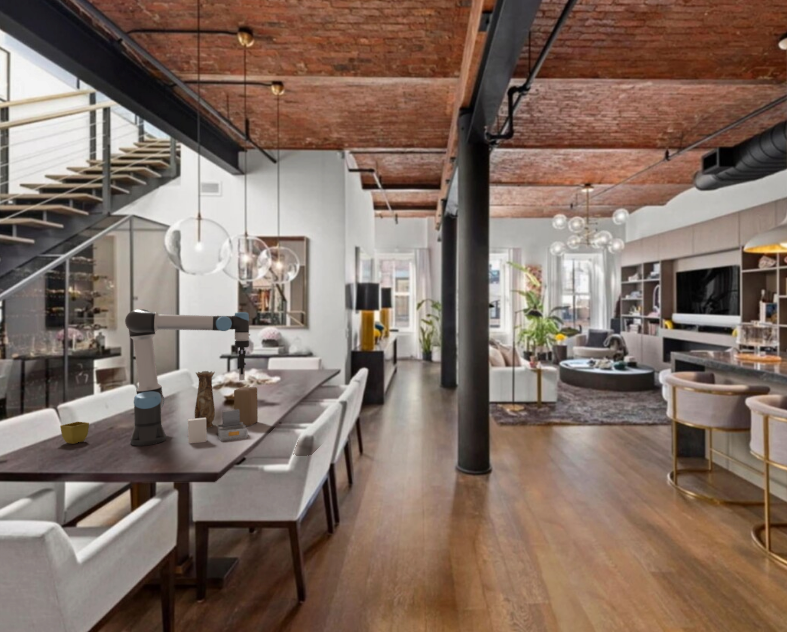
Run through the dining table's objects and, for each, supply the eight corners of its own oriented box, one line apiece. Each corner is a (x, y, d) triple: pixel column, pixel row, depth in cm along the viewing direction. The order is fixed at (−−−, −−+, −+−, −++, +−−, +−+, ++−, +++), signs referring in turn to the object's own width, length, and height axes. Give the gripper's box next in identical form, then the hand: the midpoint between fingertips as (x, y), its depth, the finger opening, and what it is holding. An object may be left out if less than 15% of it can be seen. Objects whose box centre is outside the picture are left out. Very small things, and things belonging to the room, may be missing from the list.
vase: (202, 423, 258) (201, 370, 257) (219, 424, 256) (218, 370, 255) (190, 428, 248) (189, 373, 247) (208, 429, 245) (207, 373, 245)
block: (258, 421, 261) (257, 386, 261) (251, 426, 251) (250, 390, 251) (241, 421, 262) (241, 386, 262) (233, 425, 252) (233, 389, 252)
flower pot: (59, 443, 220) (59, 425, 220) (78, 439, 229) (77, 421, 228) (72, 445, 217) (71, 427, 217) (90, 440, 225) (89, 422, 225)
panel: (188, 443, 219) (188, 420, 219) (188, 441, 223) (188, 419, 222) (206, 441, 223) (206, 419, 223) (206, 439, 226) (205, 417, 226)
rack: (220, 441, 223) (220, 416, 223) (217, 433, 237) (217, 410, 237) (247, 437, 228) (247, 414, 228) (242, 430, 243) (242, 407, 242)
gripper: (249, 341, 242) (249, 381, 242) (249, 338, 265) (249, 375, 266) (234, 341, 239) (234, 382, 240) (235, 338, 263) (235, 375, 263)
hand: (242, 378), depth 253 cm, fingers open, 13 cm apart
